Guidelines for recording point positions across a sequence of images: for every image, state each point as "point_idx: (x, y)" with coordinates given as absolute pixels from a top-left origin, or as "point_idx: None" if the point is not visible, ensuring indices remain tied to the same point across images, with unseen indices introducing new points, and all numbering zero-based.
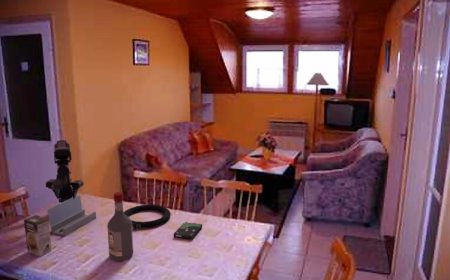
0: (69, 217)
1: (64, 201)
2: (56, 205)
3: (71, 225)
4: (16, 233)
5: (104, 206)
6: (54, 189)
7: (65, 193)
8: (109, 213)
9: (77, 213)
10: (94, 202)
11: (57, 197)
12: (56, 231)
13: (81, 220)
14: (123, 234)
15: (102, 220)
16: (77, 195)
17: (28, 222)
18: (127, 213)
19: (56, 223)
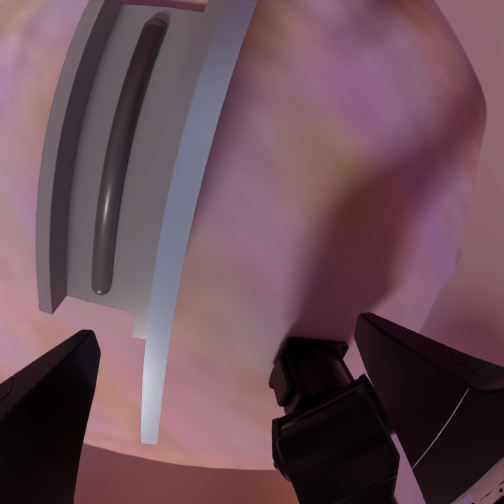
0: (157, 178)
1: (185, 233)
2: (227, 24)
3: (69, 50)
4: (428, 45)
5: (131, 417)
6: (497, 393)
7: (332, 443)
8: (47, 351)
9: (140, 270)
10: (211, 442)
11: (368, 320)
12: (190, 24)
13: (44, 158)
14: None
15: (17, 266)
16: (157, 433)
17: None
18: None
19: (209, 46)
